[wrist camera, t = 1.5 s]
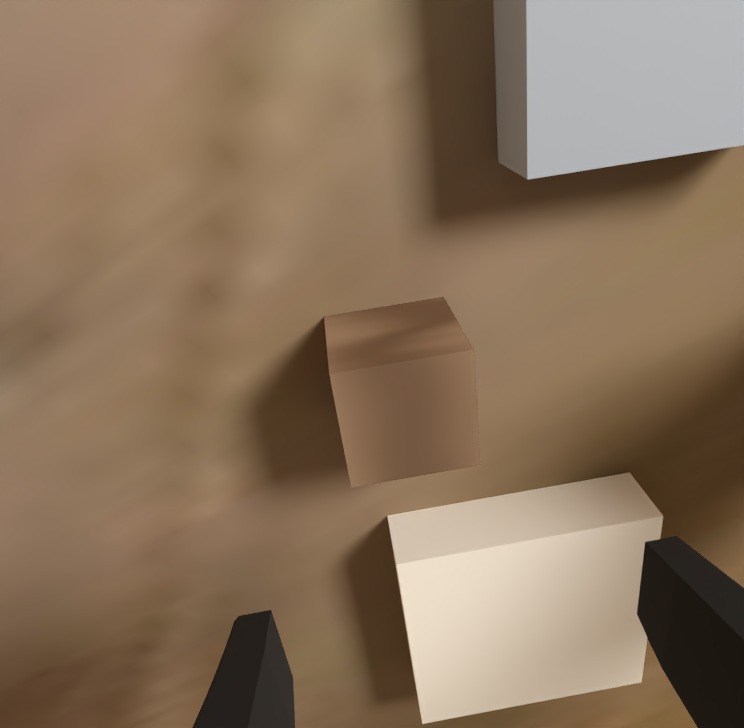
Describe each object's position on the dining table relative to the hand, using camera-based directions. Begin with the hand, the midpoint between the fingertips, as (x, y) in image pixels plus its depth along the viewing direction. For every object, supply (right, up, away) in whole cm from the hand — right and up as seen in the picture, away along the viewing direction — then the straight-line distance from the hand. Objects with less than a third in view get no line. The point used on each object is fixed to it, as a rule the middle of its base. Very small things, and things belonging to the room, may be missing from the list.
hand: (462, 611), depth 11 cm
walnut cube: (-1, +5, +9) cm, 10 cm away
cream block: (+4, -5, +15) cm, 17 cm away
